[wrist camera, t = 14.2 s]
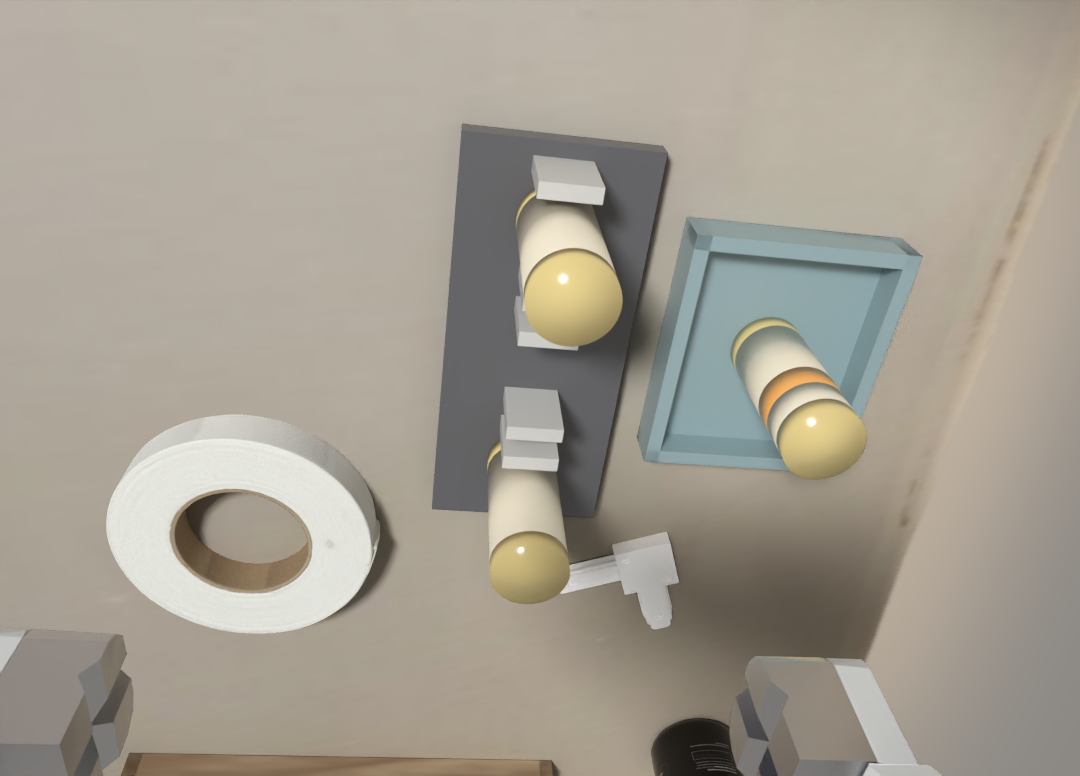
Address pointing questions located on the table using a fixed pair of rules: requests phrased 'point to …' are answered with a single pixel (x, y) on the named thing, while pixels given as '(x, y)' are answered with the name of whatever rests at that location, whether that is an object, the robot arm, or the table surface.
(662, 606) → the corner connector
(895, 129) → the table surface
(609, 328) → the fuse
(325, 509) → the roll of tape
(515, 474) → the fuse
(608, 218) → the clip block
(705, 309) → the tray
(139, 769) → the wooden frame
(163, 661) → the table surface
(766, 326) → the cylinder
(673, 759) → the supplement bottle
